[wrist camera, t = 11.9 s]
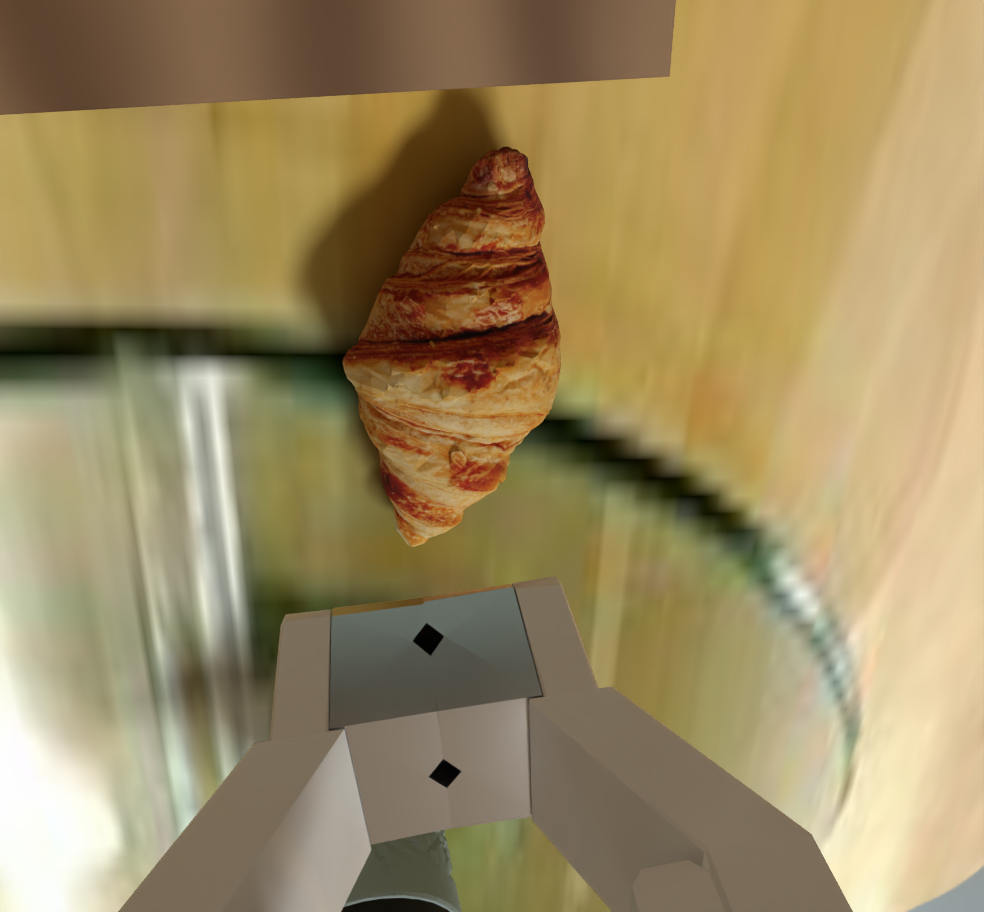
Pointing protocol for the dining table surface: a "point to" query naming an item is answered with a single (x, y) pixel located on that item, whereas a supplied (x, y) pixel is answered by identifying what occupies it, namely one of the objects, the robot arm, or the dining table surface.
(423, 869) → the gray cup
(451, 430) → the croissant
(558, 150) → the dining table surface
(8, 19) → the brown open box
